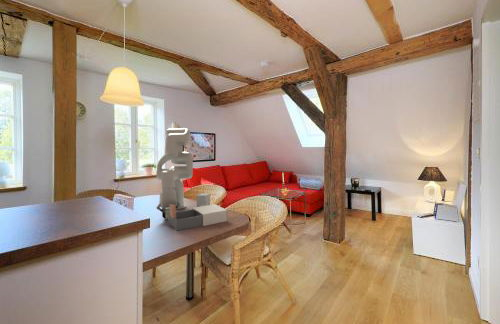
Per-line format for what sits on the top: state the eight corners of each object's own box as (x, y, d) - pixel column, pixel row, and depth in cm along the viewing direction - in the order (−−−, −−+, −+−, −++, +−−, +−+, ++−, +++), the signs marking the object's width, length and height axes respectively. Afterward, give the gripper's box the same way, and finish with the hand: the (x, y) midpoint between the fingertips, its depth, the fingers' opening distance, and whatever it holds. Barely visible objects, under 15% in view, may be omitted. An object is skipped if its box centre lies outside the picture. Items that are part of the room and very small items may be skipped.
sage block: (163, 217, 158) (163, 208, 158) (171, 216, 161) (171, 207, 160) (165, 219, 154) (165, 210, 153) (173, 218, 157) (173, 209, 156)
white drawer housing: (192, 218, 160) (192, 207, 159) (214, 214, 169) (214, 204, 168) (203, 226, 145) (203, 214, 144) (227, 221, 154) (227, 210, 154)
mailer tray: (167, 222, 150) (167, 202, 149) (196, 217, 160) (195, 198, 159) (175, 230, 137) (175, 208, 136) (206, 224, 147) (206, 203, 146)
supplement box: (210, 210, 178) (210, 193, 176) (206, 213, 170) (205, 195, 169) (201, 209, 180) (201, 193, 178) (196, 212, 172) (196, 195, 171)
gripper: (179, 187, 164) (179, 213, 165) (152, 190, 154) (153, 218, 156) (182, 189, 157) (183, 216, 159) (155, 192, 148) (156, 221, 150)
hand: (168, 217), depth 157 cm, fingers closed on sage block, 5 cm apart
